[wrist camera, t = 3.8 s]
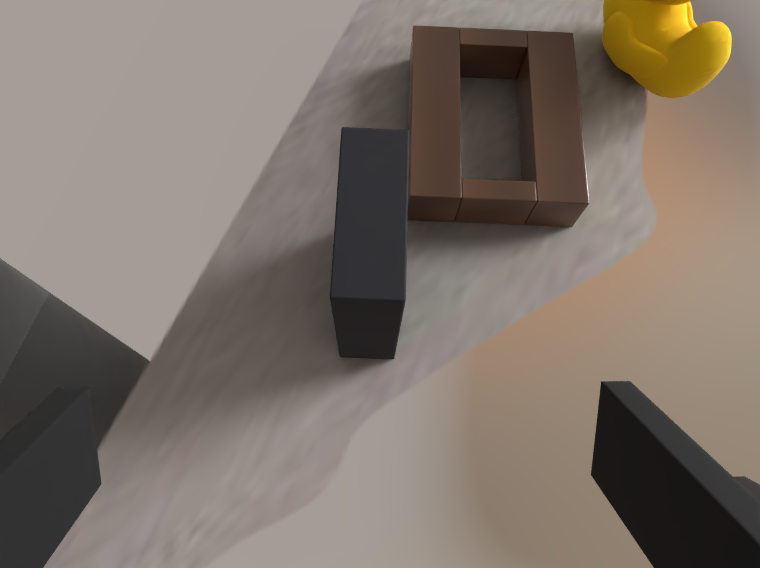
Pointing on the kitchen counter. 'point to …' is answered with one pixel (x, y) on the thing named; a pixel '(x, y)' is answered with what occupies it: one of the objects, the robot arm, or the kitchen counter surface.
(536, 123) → the seat base
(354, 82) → the kitchen counter surface
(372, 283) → the dark grey rectangular block
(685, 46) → the duckling
